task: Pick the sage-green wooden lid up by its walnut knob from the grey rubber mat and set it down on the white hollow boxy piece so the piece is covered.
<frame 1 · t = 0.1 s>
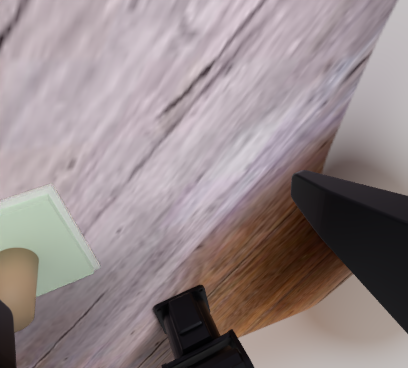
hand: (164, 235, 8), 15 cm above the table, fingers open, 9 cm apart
mat: (17, 252, 23), on the table
lid: (16, 255, 23), resting on mat
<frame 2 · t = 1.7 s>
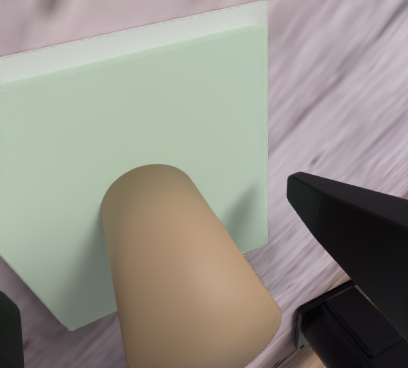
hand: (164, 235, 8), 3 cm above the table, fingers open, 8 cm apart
mat: (143, 187, 10), on the table
lid: (146, 193, 10), resting on mat
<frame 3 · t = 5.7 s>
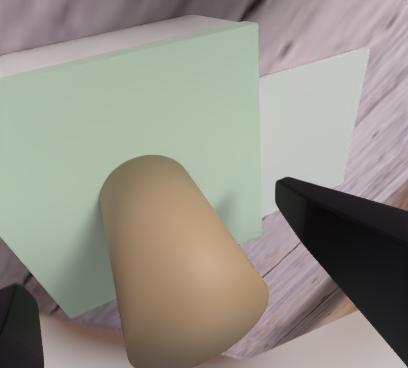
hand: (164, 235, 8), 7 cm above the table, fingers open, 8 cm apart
mat: (289, 145, 19), on the table
white hollow boxy piece: (122, 137, 14), on the table
lid: (143, 184, 10), point 4 cm above the table, touching white hollow boxy piece
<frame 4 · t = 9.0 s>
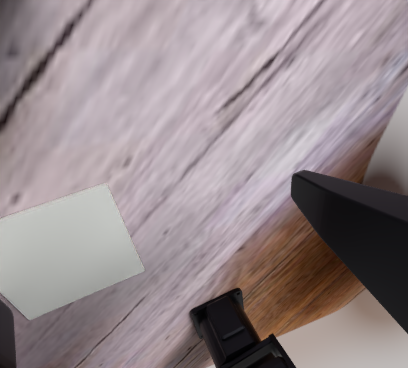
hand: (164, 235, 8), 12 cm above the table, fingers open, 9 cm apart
mat: (64, 255, 22), on the table
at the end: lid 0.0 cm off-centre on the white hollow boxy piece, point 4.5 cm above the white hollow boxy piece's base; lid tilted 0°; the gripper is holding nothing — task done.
